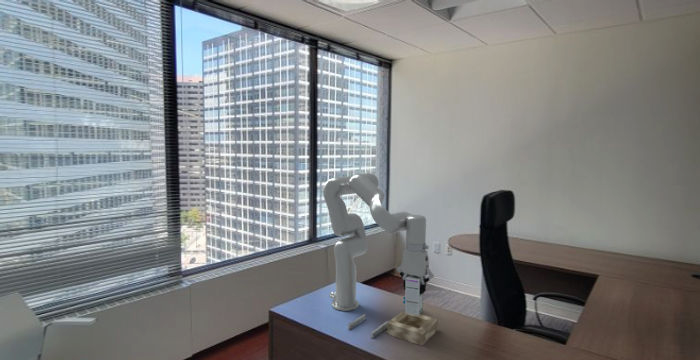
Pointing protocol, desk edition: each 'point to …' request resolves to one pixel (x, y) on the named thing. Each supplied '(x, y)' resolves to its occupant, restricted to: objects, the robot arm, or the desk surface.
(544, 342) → the desk surface
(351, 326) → the stand rails
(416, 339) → the beige square tray
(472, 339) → the desk surface
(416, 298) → the syrup box
